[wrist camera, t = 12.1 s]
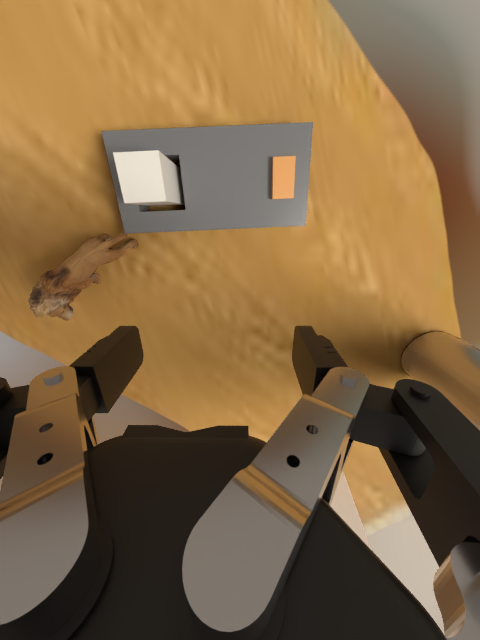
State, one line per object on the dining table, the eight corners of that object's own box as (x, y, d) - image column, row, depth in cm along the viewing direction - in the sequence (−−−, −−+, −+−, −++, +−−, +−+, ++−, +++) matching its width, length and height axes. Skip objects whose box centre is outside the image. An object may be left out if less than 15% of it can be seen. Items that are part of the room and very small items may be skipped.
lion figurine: (93, 307, 36) (52, 334, 28) (60, 284, 34) (6, 305, 26) (148, 233, 32) (118, 239, 24) (114, 203, 30) (68, 199, 22)
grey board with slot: (303, 132, 27) (315, 119, 24) (298, 224, 32) (307, 226, 28) (116, 140, 27) (97, 128, 24) (135, 231, 32) (121, 234, 28)
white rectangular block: (179, 168, 29) (158, 150, 21) (184, 204, 30) (166, 201, 22) (147, 170, 29) (112, 152, 21) (154, 206, 30) (124, 203, 22)
